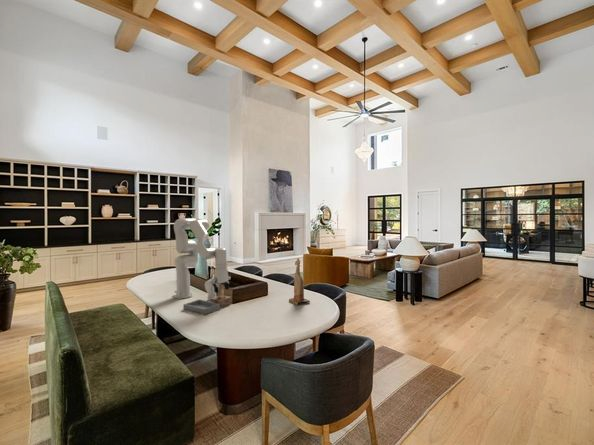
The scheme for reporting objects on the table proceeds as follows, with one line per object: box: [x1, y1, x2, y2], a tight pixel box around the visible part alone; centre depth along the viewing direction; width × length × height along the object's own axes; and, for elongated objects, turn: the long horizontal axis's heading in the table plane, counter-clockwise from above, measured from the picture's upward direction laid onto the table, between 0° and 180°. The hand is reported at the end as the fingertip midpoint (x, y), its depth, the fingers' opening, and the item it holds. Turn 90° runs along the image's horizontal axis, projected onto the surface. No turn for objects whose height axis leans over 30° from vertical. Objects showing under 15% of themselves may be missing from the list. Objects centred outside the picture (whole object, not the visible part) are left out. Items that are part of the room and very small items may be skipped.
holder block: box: [210, 295, 233, 309], centre depth 201 cm, size 10×10×5 cm
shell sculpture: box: [204, 274, 217, 302], centre depth 213 cm, size 8×8×18 cm
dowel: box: [217, 283, 225, 299], centre depth 201 cm, size 4×4×14 cm
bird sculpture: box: [288, 257, 311, 307], centre depth 206 cm, size 11×12×32 cm
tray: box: [183, 299, 221, 316], centre depth 192 cm, size 20×13×4 cm, turn 59°
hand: (221, 291), depth 201 cm, fingers open, 9 cm apart
